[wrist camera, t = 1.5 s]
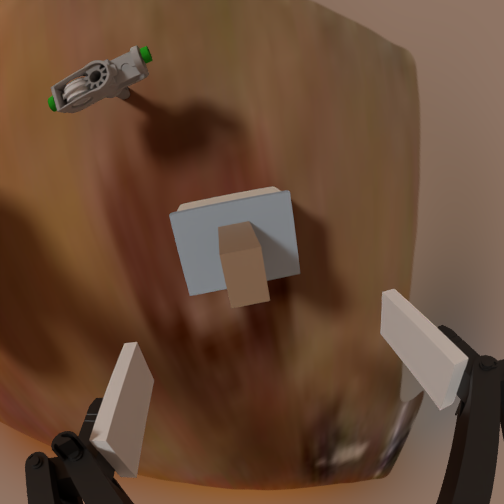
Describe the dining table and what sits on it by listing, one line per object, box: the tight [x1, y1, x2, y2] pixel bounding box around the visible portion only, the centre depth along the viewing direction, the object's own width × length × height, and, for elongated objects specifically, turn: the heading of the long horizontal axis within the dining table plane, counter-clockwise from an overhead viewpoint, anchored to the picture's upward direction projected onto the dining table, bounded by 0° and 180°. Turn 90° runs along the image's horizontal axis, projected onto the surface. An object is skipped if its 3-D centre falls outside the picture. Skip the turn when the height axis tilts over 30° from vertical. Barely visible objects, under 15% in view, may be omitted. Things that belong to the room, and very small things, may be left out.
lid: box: [169, 190, 300, 308], centre depth 27 cm, size 12×9×10 cm
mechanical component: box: [48, 45, 152, 113], centre depth 25 cm, size 3×10×10 cm, turn 109°
